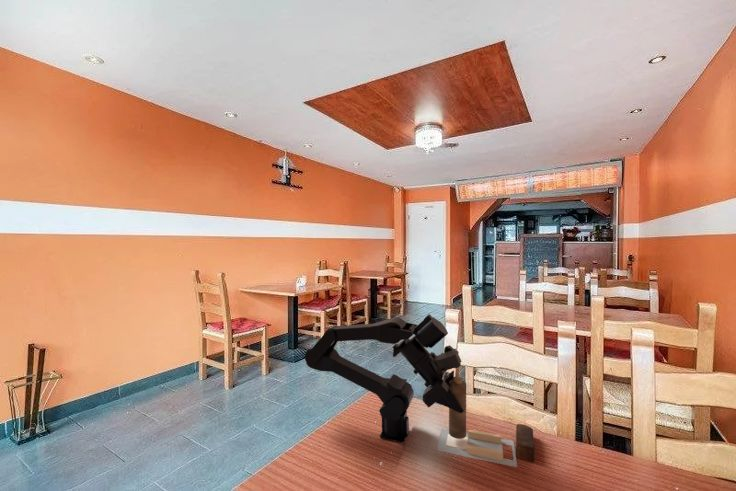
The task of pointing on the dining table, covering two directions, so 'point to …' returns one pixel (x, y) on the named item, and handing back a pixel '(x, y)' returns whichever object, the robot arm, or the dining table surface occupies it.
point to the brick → (524, 443)
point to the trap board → (477, 446)
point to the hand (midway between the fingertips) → (463, 407)
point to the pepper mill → (455, 418)
